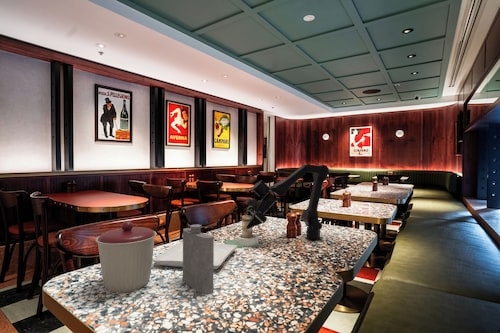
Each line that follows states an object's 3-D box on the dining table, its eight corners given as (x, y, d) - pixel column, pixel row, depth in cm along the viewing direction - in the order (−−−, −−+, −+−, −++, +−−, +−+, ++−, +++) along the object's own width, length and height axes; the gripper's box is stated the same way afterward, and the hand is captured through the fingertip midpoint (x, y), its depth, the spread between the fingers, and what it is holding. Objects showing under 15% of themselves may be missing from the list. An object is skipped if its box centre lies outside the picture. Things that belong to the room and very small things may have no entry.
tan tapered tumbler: (253, 240, 141) (252, 215, 140) (252, 243, 135) (252, 217, 135) (242, 240, 141) (242, 215, 141) (241, 243, 136) (241, 217, 136)
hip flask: (215, 293, 85) (215, 228, 85) (204, 297, 83) (204, 230, 82) (189, 277, 97) (189, 220, 97) (178, 280, 94) (178, 222, 94)
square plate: (219, 275, 99) (219, 264, 99) (149, 269, 105) (149, 259, 105) (237, 252, 126) (237, 243, 126) (181, 248, 131) (181, 240, 131)
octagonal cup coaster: (251, 237, 148) (251, 231, 148) (264, 245, 135) (264, 238, 134) (219, 242, 140) (219, 235, 140) (229, 250, 127) (229, 242, 127)
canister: (82, 299, 82) (82, 227, 81) (114, 274, 100) (114, 215, 99) (143, 300, 81) (143, 228, 81) (164, 275, 99) (164, 216, 99)
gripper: (250, 190, 148) (230, 212, 145) (260, 194, 130) (236, 219, 127) (264, 204, 150) (244, 226, 147) (276, 210, 132) (253, 235, 129)
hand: (244, 226), depth 138 cm, fingers open, 9 cm apart
